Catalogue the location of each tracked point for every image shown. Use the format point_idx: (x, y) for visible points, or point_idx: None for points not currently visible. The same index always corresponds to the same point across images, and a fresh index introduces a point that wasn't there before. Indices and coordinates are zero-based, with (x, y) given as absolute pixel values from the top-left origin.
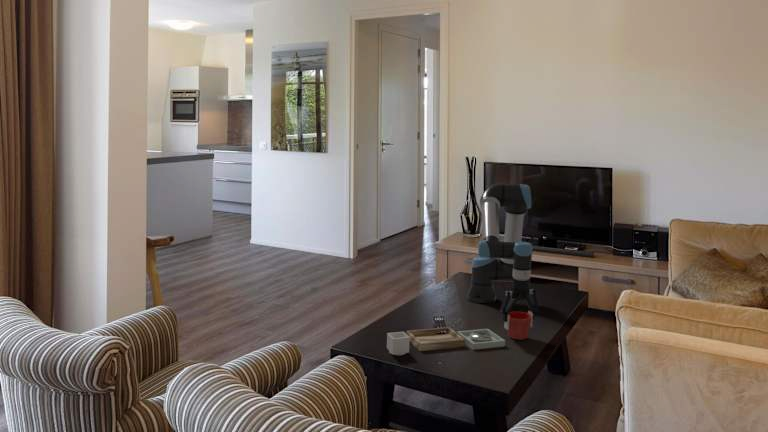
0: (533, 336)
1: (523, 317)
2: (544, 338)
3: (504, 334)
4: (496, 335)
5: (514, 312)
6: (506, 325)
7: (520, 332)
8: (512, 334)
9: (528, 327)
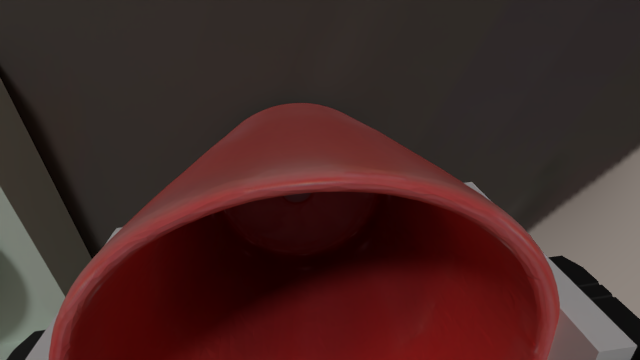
0: (455, 164)
1: (458, 217)
2: (510, 213)
3: (195, 78)
4: (34, 271)
5: (329, 191)
6: None
7: (280, 313)
8: (219, 252)
9: (380, 333)
